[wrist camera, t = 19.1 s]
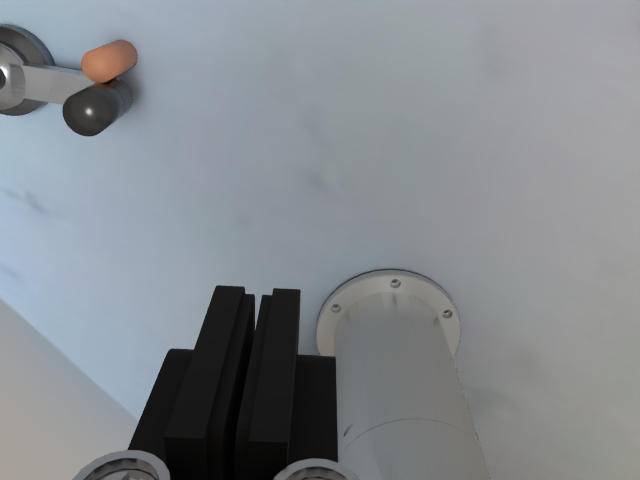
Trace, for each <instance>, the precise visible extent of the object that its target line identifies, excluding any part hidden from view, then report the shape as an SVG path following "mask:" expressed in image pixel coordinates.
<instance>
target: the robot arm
mask: <svg viewBox="0 0 640 480" xmlns="http://www.w3.org/2000/svg"><path fill="white" fill-rule="evenodd" d="M394 279H396V280H394ZM335 304H337V305H335ZM299 317H300V290H299V289H278V288H274V289H273V294H272V295H262V299H261V305H260V310H259V315H258V320H257V325H256V330H255V295H254V294H245V288H244V287H238V286H218V285H217V286H216V288H215V290H214V293H213V296H212V299H211V302H210V305H209V308H208V311H207V314H206V316H205V319H204V322H203V325H202V328H201V331H200V334H199V337H198V340H197V343H196V345H195V348H194V350H190V349H170V350H169V351H168V353H167V355H166V357H165V359H164V362H163V364H162V367H161V369H160V372H159V374H158V377H157V379H156V381H155V384H154V386H153V389H152V391H151V394H150V396H149V399H148V401H147V403H146V406H145V408H144V411H143V413H142V416H141V418H140V420H139V423H138V425H137V428H136V430H135V433H134V435H133V438H132V440H131V443H130V445H129V447H128V450H124V451H118V452H113V453H109V454H107V455H105V456H103V457H100V458H98V459H96V460H94V461H93V462H91V463H90V464H88V465H87V466H85V467H84V468H82V469H81V471H80V472H79V473H78V474H77V475H76V476H75V477H74V479H72V480H491V477H490V474H489V471H488V468H487V465H486V462H485V459H484V456H483V452H482V449H481V446H480V443H479V439H478V436H477V433H476V430H475V427H474V424H473V421H472V418H471V415H470V411H469V408H468V405H467V402H466V399H465V396H464V393H463V389H462V386H461V383H460V380H459V377H458V374H457V371H456V367H455V364H454V361H453V357H454V355H455V353H456V351H457V348H458V345H459V342H460V334H461V327H460V320H459V316H458V313H457V311H456V308H455V306H454V304H453V302H452V300H451V299H450V297H449V296H448V295H447V294H446V292H445V291H444V290H443V289H442V288H441V287H439V286H438V285H437V284H435V283H434V282H433V281H431V280H429V279H427V278H425V277H423V276H421V275H418V274H414V273H411V272H407V271H398V270H383V271H375V272H371V273H367V274H363V275H361V276H358V277H356V278H354V279H351V280H350V281H348V282H347V283H345V284H343V285H342V286H340V287H339V288H338V289H337V290H336V291H335V292H334V293H333V294H332V295H331V296H330V297H329V298H328V300H327V301H326V303H325V304H324V305H323V307H322V310H321V312H320V314H319V317H318V322H317V328H316V341H317V347H318V351H319V353H320V356H314V355H298V341H299Z"/></svg>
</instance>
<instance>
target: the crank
mask: <svg viewBox="0 0 640 480" xmlns="http://www.w3.org/2000/svg"><path fill="white" fill-rule="evenodd" d="M26 99H32V100H38V101H44V102H50V103H56V104H62V105H63V117H64V120H65V122H66V123H67V125H68V126H69V127H70V128H71V129H72V130H73V131H74V132H76V133H77V134H80V135H83V136H94V135H97V134H99V133H100V132H102V131H103V130H104V129H106V128H107V127H108V126H110V125H111V124H112V123H113V122H115V121H116V120H117V119H119V118H120V117H121V116H123V115H124V114H125V113H127V112H128V111H129V109H130V108H131V105H132V94H131V91H130V89H129V88H128V86H127V85H126V84H125V83H124V82H123V81H121V80H119V77H114V78H112V79H110V80H109V81H107V82H104V83H96V82H93V81H91V80H90V79H88V78H87V77H86V76H85V74H84V73H83V71H79V70H73V69H68V68H62V67H56V66H50V65H44V64H38V63H32V62H28V60H27V59H26V57H25V56H24V55H23V54H22V53H21V52H20V51H19V50H18V49H17V48H15V47H14V46H12V45H11V44H9V43H6V42H4V41H0V110H4V109H9V108H12V107H14V106H16V105H18V104H20V103H22V102H24V101H25V100H26Z"/></svg>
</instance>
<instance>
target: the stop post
mask: <svg viewBox="0 0 640 480" xmlns="http://www.w3.org/2000/svg"><path fill="white" fill-rule="evenodd" d="M136 62H137V52H136V49H135V48H134V46H133V45H132V44H131V43H129V42H127V41H125V40H117V41H115V42H112V43H109V44H107V45H104V46H102V47H99V48H96V49H94V50H91V51H89V52H87V53H86V54H85V55H84V56H83V58H82V61H81V67H82V70H83V73H84V74H85V76H86V77H87V78H88V79H90V80H91V81H93V82H96V83H104V82H107V81H109V80H110V79H112V78H114V77H116V76H118V75H120V74H121V73H123V72H125V71H127V70H129V69H130V68H132V67H133V66H134V65H135V64H136Z"/></svg>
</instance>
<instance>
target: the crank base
mask: <svg viewBox="0 0 640 480" xmlns="http://www.w3.org/2000/svg"><path fill="white" fill-rule="evenodd" d="M0 41H4V42H6V43H9V44H11V45H12V46H14V47H15V48H17V49H18V50H19V51H20V52H21V53H22V54H23V55H24V56H25V57H26V59H27V60H28V62H32V63H38V64H44V65H50V66H55V63H54V60H53V58H52V56H51V54H50V52H49V51H48V49H47V48H46V46H45V45H44V44H43V43H42V42H41V41H40V40H39V39H38V38H37V37H36V36H35V35H33V34H32V33H30V32H29V31H27V30H25V29H23V28H20V27H17V26H13V25H7V24H1V25H0ZM46 103H47V102H44V101H38V100H32V99H26V100H25V101H24V102H22V103H20V104H18V105H16V106H14V107H12V108H9V109H4V110H0V114H4V115H10V116H19V115H24V114H28V113H30V112H32V111H34V110H36V109H38V108H40V107H42V106H43V105H45V104H46Z"/></svg>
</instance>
